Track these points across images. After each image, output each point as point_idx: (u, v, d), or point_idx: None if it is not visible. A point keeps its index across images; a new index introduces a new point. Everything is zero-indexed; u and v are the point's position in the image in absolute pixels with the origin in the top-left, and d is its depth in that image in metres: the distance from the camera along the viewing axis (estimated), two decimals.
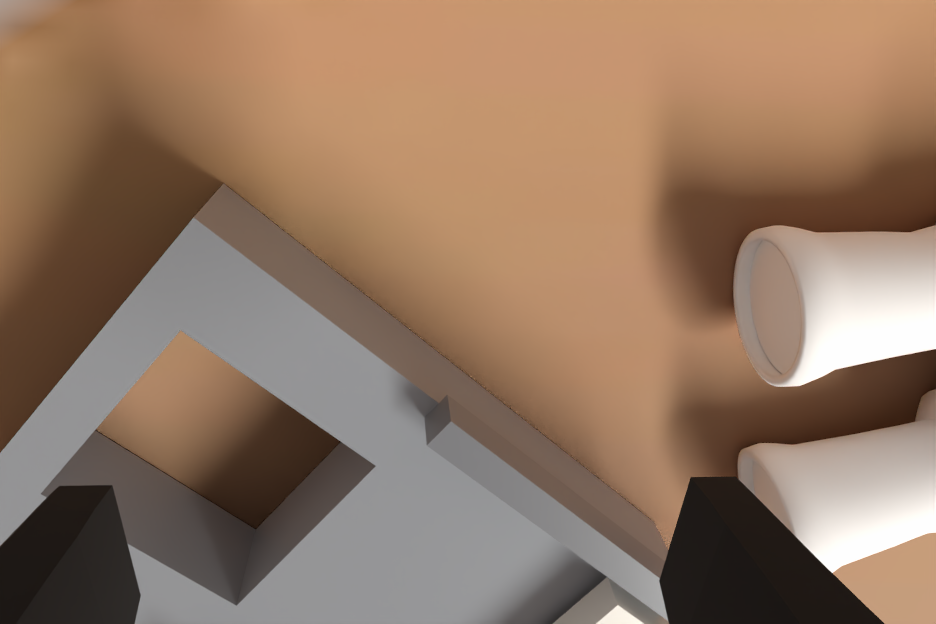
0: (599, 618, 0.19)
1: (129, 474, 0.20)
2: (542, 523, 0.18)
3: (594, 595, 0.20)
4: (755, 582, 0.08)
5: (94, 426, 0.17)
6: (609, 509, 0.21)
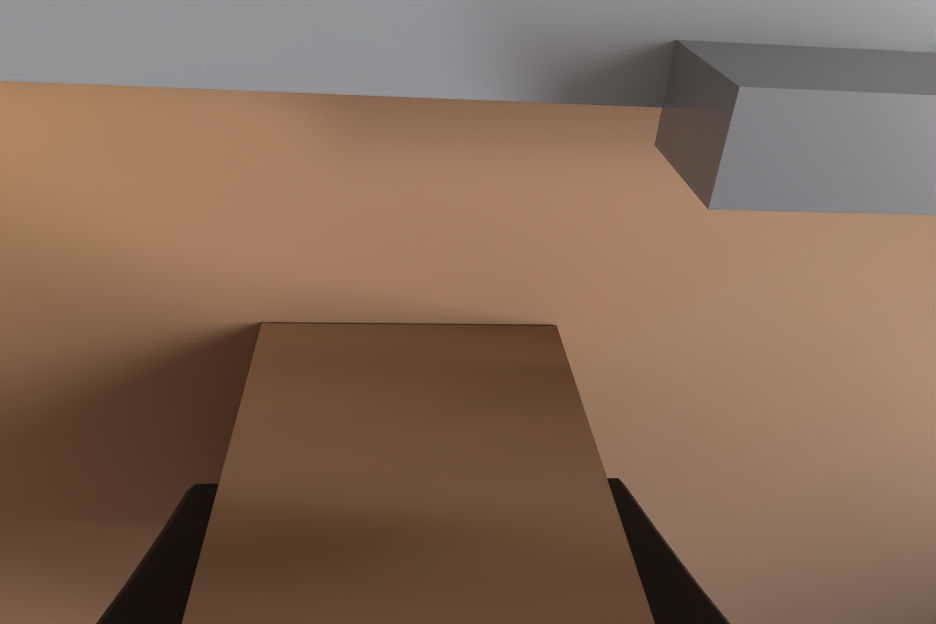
0: None
1: None
2: None
3: None
4: None
5: None
6: None
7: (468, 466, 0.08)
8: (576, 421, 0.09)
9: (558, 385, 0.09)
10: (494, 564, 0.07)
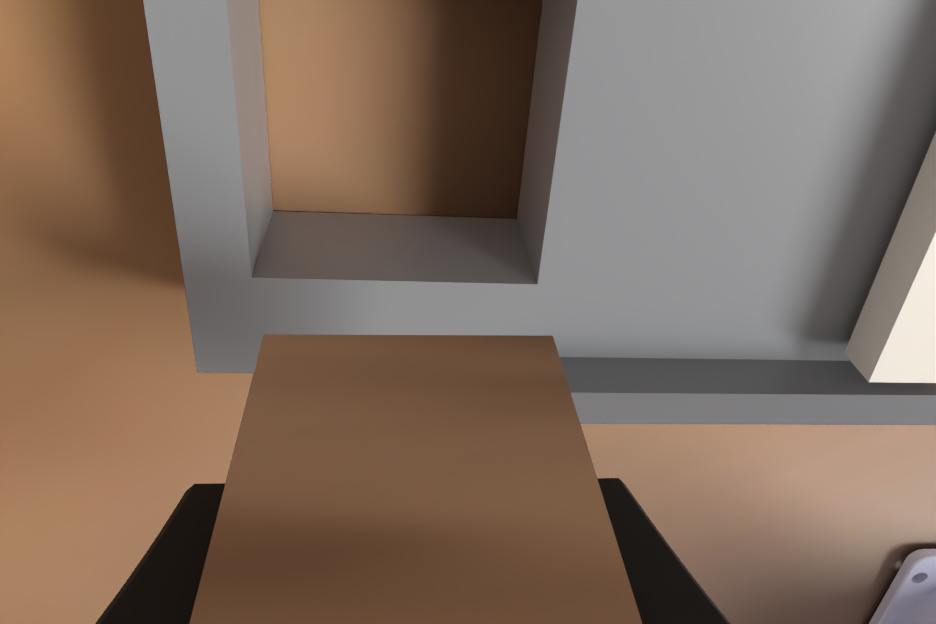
0: None
1: (342, 228, 0.16)
2: None
3: None
4: None
5: (237, 160, 0.13)
6: None
7: (465, 477, 0.08)
8: (571, 431, 0.09)
9: (553, 395, 0.10)
10: (489, 574, 0.07)
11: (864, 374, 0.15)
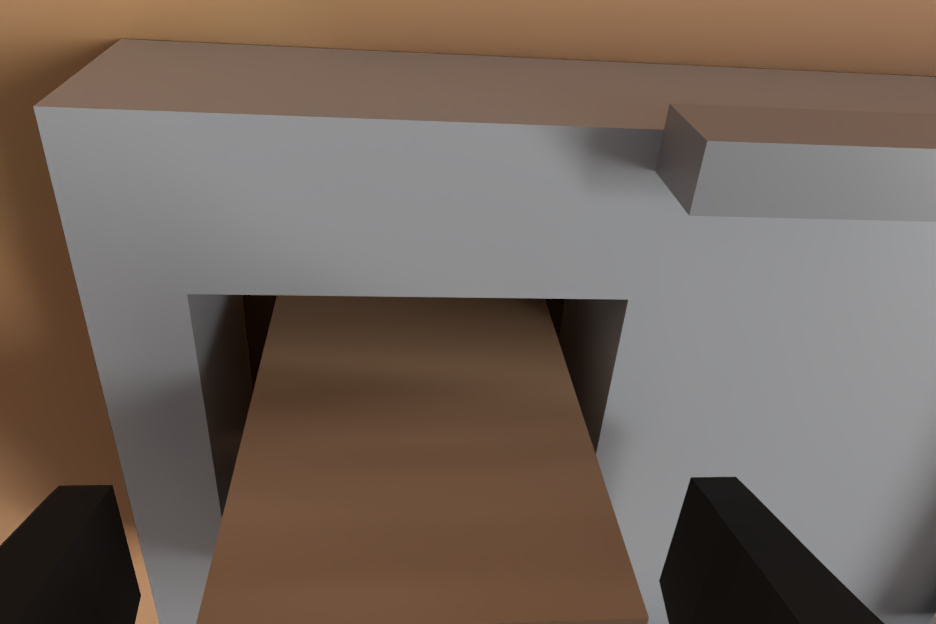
0: None
1: None
2: None
3: None
4: (755, 582, 0.08)
5: (211, 484, 0.11)
6: None
7: (455, 347, 0.10)
8: (542, 319, 0.11)
9: None
10: (473, 407, 0.09)
11: None
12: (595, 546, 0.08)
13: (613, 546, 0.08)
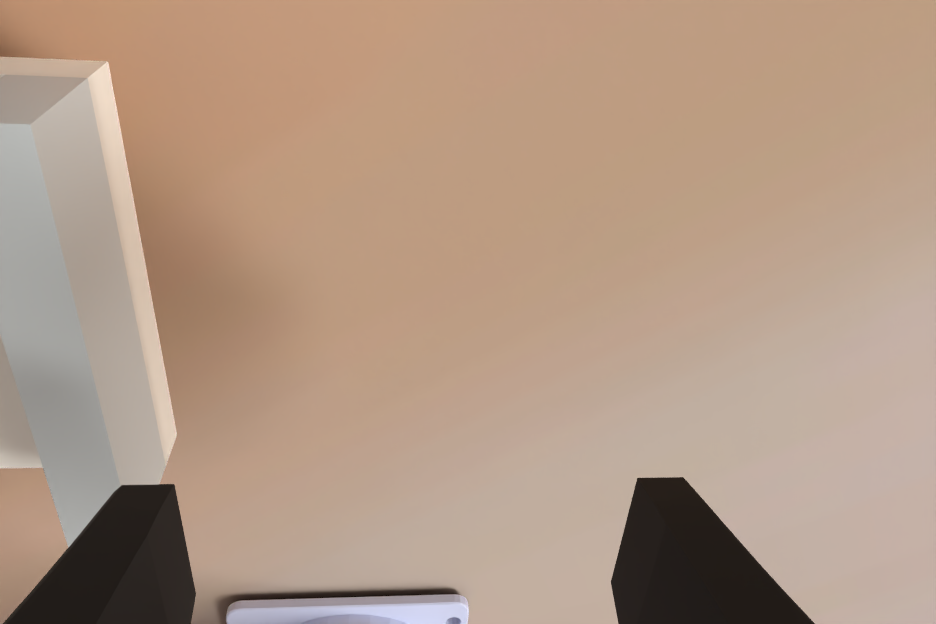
0: None
1: None
2: None
3: None
4: (692, 584, 0.08)
5: None
6: None
7: None
8: None
9: None
10: None
11: None
12: None
13: None
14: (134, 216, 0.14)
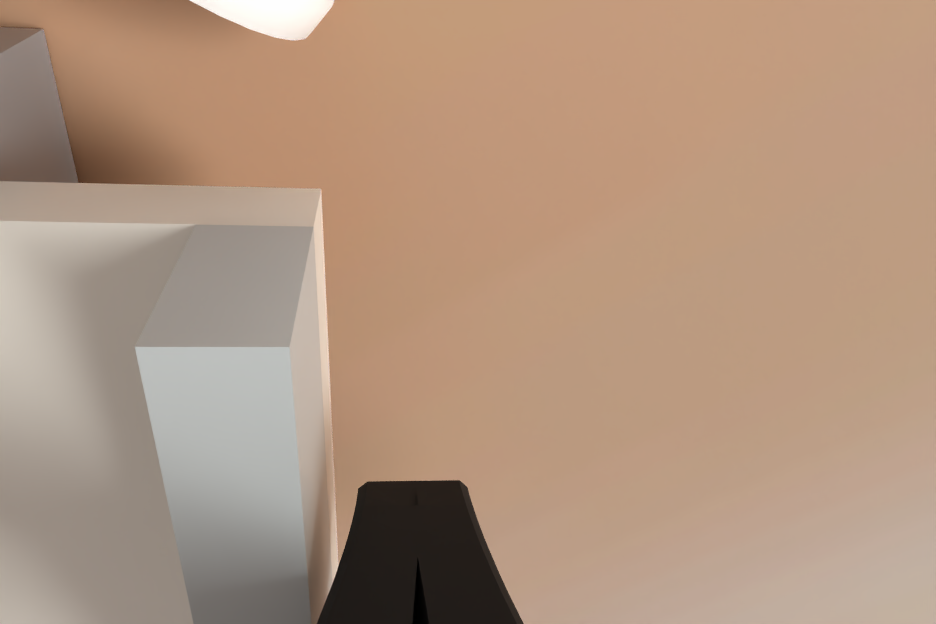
0: None
1: None
2: None
3: None
4: (420, 592, 0.08)
5: None
6: None
7: None
8: None
9: None
10: None
11: None
12: None
13: None
14: (329, 384, 0.10)
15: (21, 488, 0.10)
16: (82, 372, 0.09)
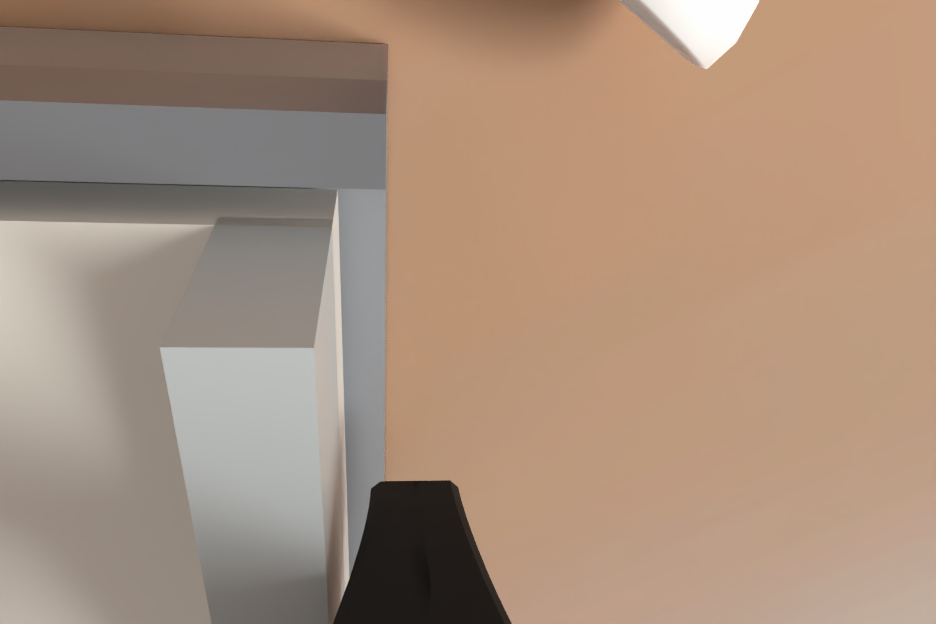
0: None
1: None
2: None
3: None
4: None
5: None
6: (175, 64, 0.10)
7: None
8: None
9: None
10: None
11: None
12: None
13: None
14: (343, 384, 0.10)
15: (35, 488, 0.10)
16: (98, 372, 0.09)
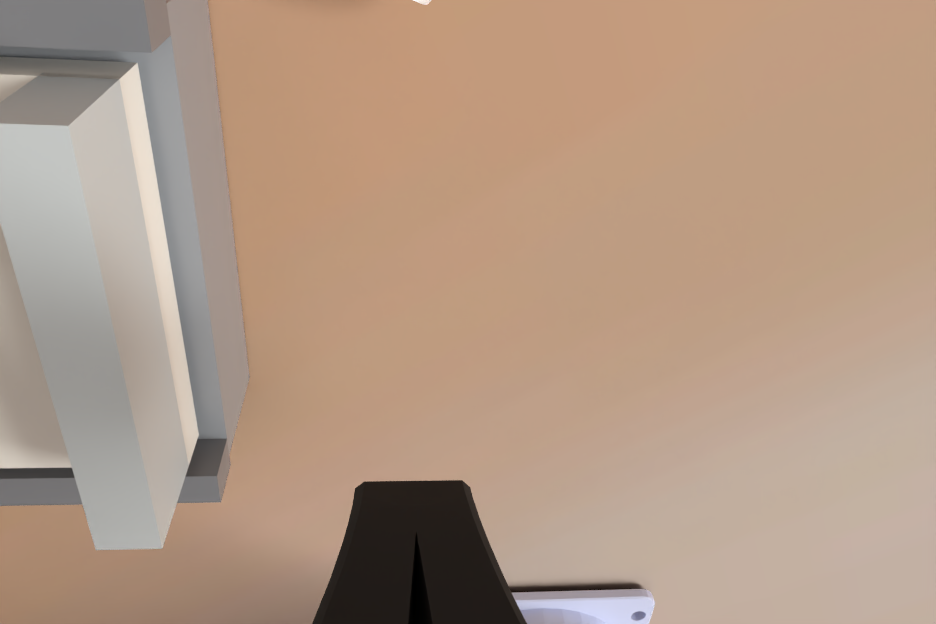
0: None
1: None
2: None
3: None
4: (423, 591, 0.08)
5: None
6: None
7: None
8: None
9: None
10: None
11: None
12: None
13: None
14: (161, 217, 0.14)
15: None
16: None
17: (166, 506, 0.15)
